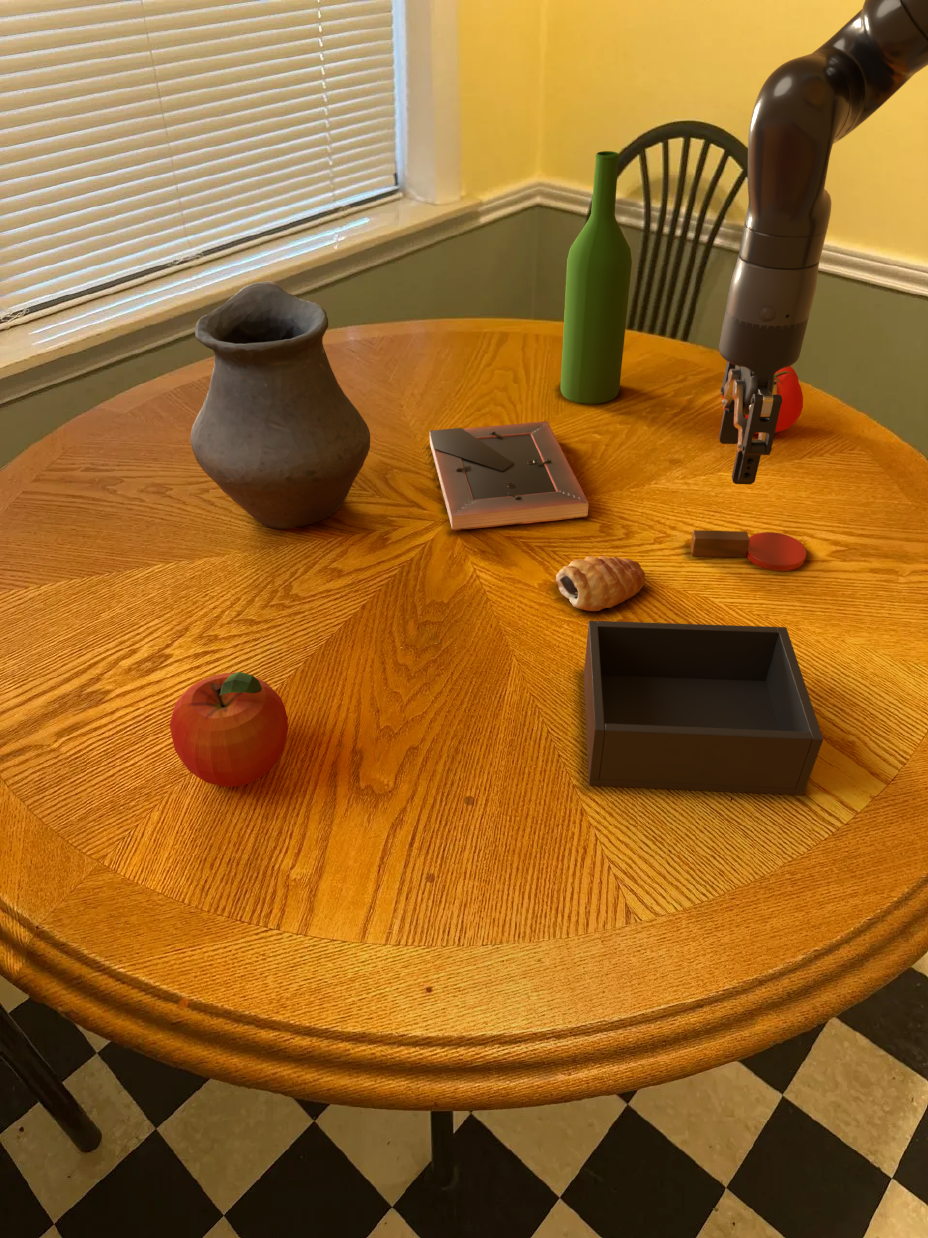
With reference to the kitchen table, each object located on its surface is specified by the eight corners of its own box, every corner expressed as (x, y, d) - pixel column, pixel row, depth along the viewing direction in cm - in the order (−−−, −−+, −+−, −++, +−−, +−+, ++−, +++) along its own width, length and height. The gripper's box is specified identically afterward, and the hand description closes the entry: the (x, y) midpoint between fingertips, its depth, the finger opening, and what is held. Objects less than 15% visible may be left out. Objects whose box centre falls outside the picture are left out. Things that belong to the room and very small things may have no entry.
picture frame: (430, 446, 119) (452, 532, 102) (429, 430, 117) (451, 514, 100) (547, 435, 120) (587, 518, 104) (547, 419, 119) (588, 500, 102)
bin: (770, 681, 81) (786, 626, 77) (803, 795, 71) (823, 739, 67) (583, 674, 83) (588, 620, 78) (588, 785, 72) (594, 729, 68)
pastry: (623, 563, 97) (627, 535, 94) (657, 597, 92) (662, 568, 89) (550, 585, 94) (551, 556, 91) (581, 621, 89) (584, 592, 87)
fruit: (205, 719, 79) (180, 636, 73) (306, 725, 78) (290, 642, 72) (166, 802, 72) (135, 718, 65) (278, 810, 71) (257, 726, 65)
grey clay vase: (207, 565, 98) (152, 352, 82) (211, 472, 114) (165, 280, 99) (386, 541, 101) (367, 331, 85) (364, 453, 117) (345, 264, 102)
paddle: (797, 538, 100) (802, 520, 98) (810, 572, 95) (816, 554, 93) (687, 535, 101) (690, 518, 99) (694, 568, 96) (697, 551, 94)
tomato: (702, 427, 121) (712, 368, 116) (746, 403, 127) (758, 346, 121) (768, 454, 115) (781, 393, 110) (811, 427, 121) (827, 368, 115)
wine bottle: (621, 381, 134) (645, 146, 113) (616, 406, 127) (640, 161, 106) (564, 377, 135) (577, 144, 115) (556, 401, 129) (568, 159, 108)
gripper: (828, 337, 74) (786, 498, 85) (792, 282, 85) (758, 430, 96) (740, 336, 75) (708, 496, 85) (715, 281, 86) (690, 429, 96)
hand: (735, 461), depth 90 cm, fingers open, 8 cm apart
